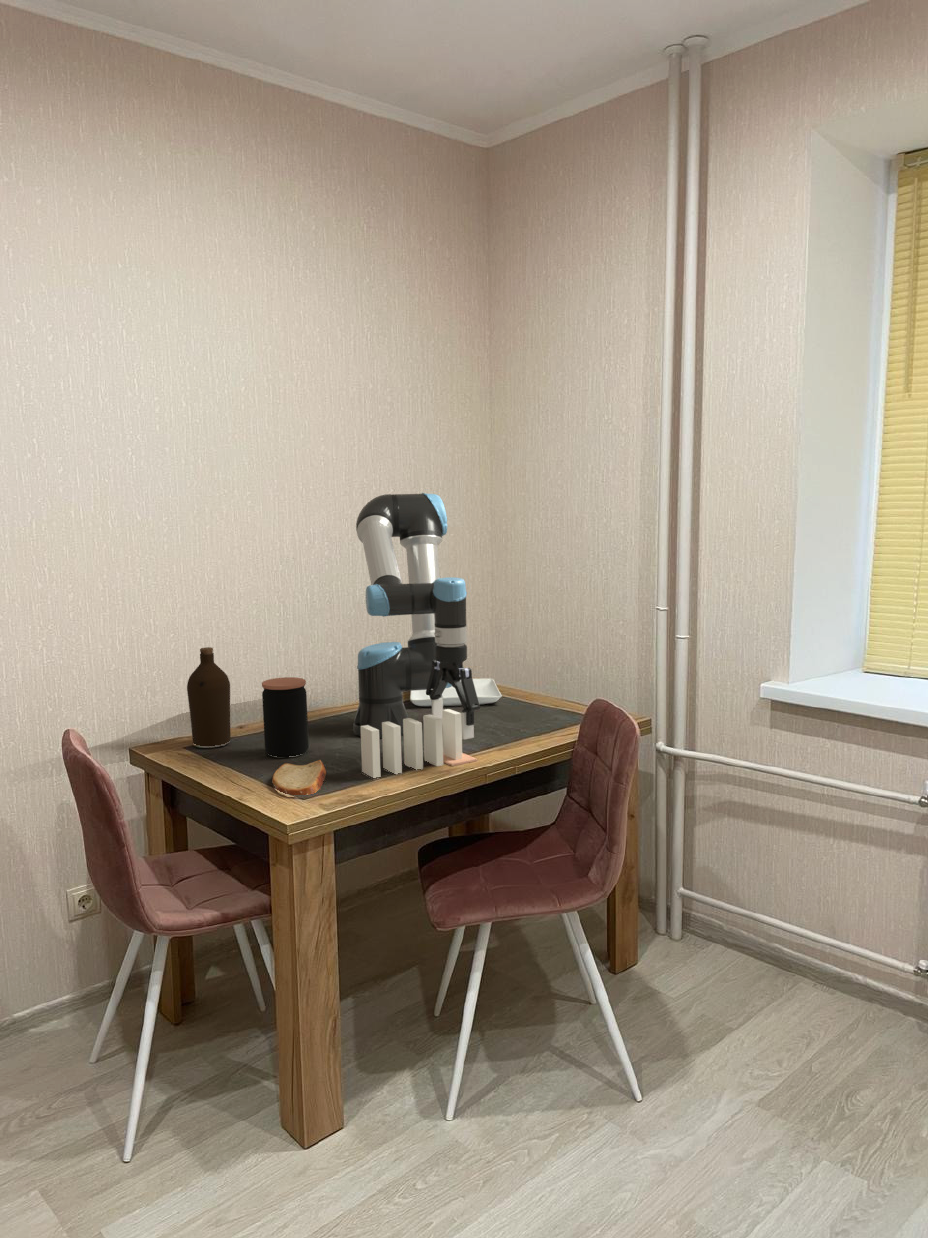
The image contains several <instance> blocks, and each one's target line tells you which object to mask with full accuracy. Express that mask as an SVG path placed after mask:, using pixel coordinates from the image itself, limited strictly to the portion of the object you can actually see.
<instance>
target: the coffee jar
mask: <svg viewBox="0 0 928 1238" xmlns="http://www.w3.org/2000/svg"><path fill="white" fill-rule="evenodd" d="M306 683H307V682H306V679H304V678H301V677H294V676H293V677H291V676H289V677H288V676H287V677H276V678H269V679H266V680H264V681H262V682H261V687H262V688H263V690H262V692H261V696H262V716H263V736H264V738H263V739H264V751H265V753H266V754H267V755H268V754H269V755H272V756H277V757H289V756H296V755H300V754H303V753H305V752H306V751H308V750H309V747H310V745H309V744H310V743H309V722H308V701H307V700H308V699H307V690H306V688H305V686H306V685H307V684H306ZM306 753H307V752H306ZM306 753H305V754H306Z"/></svg>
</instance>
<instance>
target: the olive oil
mask: <svg viewBox="0 0 928 1238" xmlns="http://www.w3.org/2000/svg"><path fill="white" fill-rule="evenodd" d="M213 648H214V647H211V646H210V647H201V648H200V649H199V652H200V654H199V661H200V662H199V664H198V666H197V667H196V668H195V670H194V671H193V672H192V673H191V674H190V675H189V677H188V680H187V685H186V691H187V692H186V693H187V700H188V707H189V718H190V726H191V727H190V728H191V736H192V737H191V738H192V744H193V743H194V744H196V745H200V746H215V745H221V744H225V743H227V742H229V741H230V740H231V738H232V737H231V736H232V735H231V733H232V732H231V731H232V730H231V683H230V680H229V679H230V678H229V676H228V674H227V673H226V672H225V671H223V670H222V668H220V667H219V666H218V664H216V662H215V653H214V649H213ZM231 741H232V740H231Z"/></svg>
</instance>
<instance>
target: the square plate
mask: <svg viewBox="0 0 928 1238" xmlns="http://www.w3.org/2000/svg"><path fill="white" fill-rule="evenodd" d="M472 679H473V683H474V687H475V690H476V694H477V698H478V701H479V705H480V706H481V705H485V704H493V703H495V702H498V701H499V699H501V698H502V697H503V695H502V693H501V692H500V690H499V687H498V686H497V684H496V681H495V680H494V678H489V677H488V678H472ZM460 681H461V680H460ZM431 690H433V689H431ZM409 692H410V693H409V694H410V696H409V700H410V702H411V703H412V704H414V705H415V706H418V707H430V708H432V702H431V699H430V696H429V695H426V690H414V691H409ZM441 697H442V698H439V699H443V707H453V706H454V707H455V706H456V707H459V706H462V704H461V702H460V699H459V697H458V694H457V692H456V689H455V688H454V687H452V686H451V687H449V688H445V689H444V691H443V693H442V696H441ZM474 705H475V704H474Z"/></svg>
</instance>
